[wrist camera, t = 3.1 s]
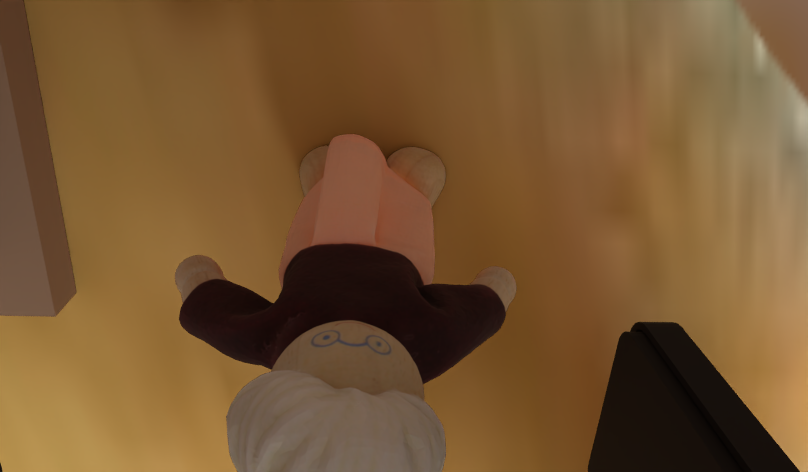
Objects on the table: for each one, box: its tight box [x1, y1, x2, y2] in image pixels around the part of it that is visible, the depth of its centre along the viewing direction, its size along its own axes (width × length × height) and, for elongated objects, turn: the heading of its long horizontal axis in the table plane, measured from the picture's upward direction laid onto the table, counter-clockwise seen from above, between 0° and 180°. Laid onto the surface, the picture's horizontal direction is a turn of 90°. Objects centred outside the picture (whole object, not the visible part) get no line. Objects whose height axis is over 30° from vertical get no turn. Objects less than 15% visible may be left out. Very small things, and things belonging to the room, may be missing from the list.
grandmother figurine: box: [175, 134, 517, 472], centre depth 14 cm, size 8×4×13 cm, turn 97°
